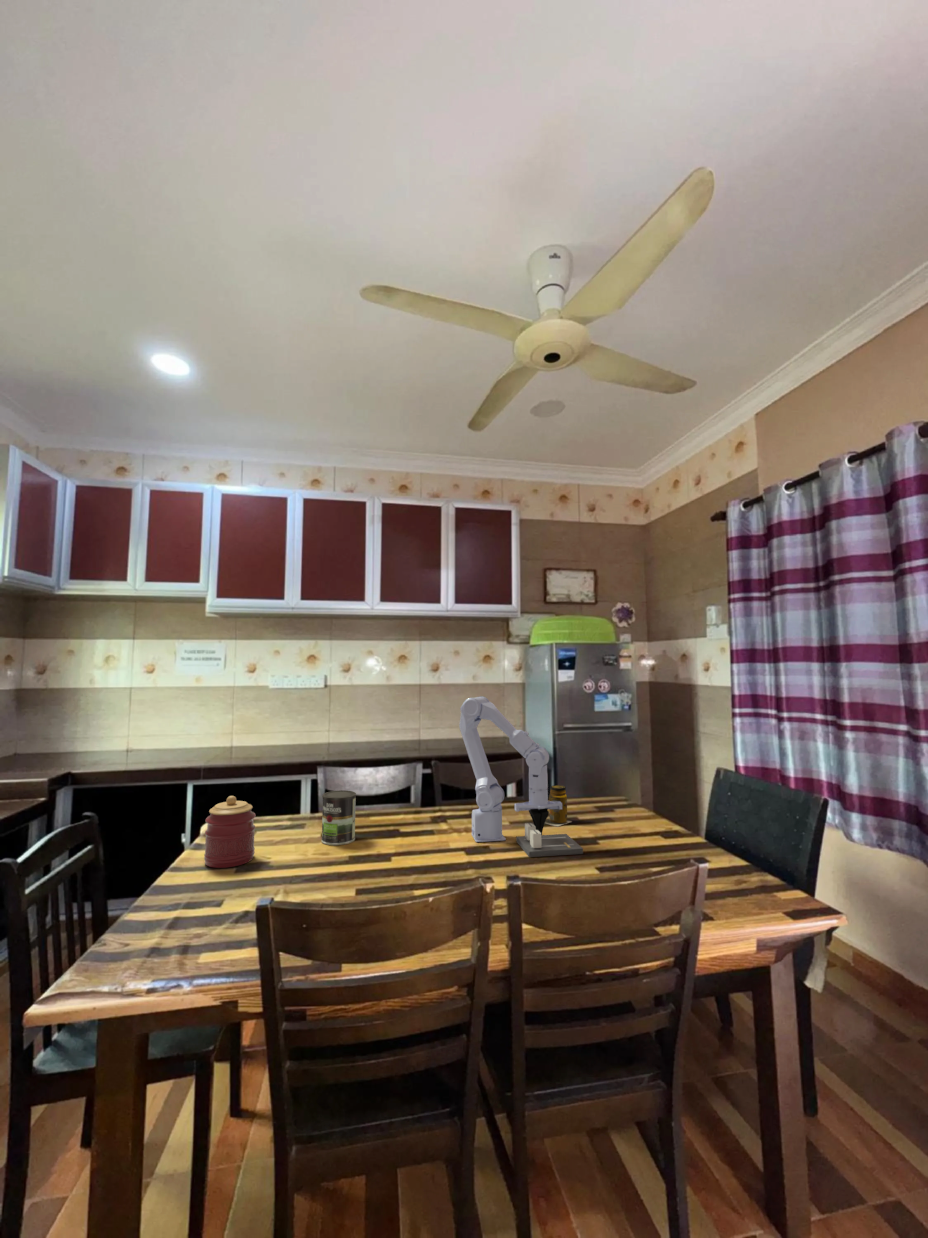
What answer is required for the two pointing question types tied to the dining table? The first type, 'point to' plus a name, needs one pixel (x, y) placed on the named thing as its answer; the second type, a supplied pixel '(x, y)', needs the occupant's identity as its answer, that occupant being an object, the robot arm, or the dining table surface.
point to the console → (551, 846)
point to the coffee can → (338, 817)
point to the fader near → (535, 839)
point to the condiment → (558, 815)
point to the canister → (229, 834)
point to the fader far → (529, 827)
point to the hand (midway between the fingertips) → (538, 834)
